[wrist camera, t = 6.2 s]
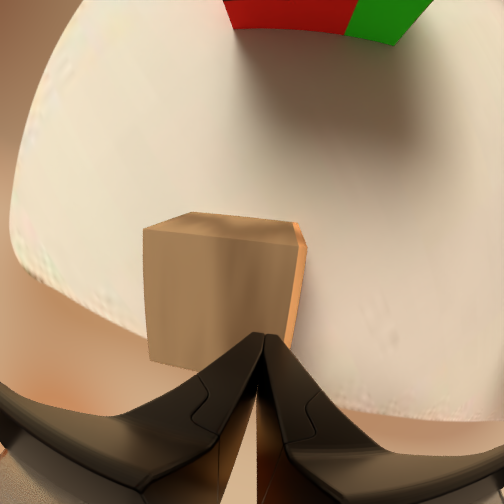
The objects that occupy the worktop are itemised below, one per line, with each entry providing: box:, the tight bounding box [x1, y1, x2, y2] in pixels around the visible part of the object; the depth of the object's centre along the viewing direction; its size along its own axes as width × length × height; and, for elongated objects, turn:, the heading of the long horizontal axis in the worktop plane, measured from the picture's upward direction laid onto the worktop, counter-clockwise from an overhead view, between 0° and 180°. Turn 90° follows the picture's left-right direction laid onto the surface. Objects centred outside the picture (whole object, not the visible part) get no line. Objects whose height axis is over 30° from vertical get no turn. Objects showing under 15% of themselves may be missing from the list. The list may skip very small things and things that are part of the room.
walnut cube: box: [143, 212, 307, 372], centre depth 13 cm, size 6×6×6 cm
